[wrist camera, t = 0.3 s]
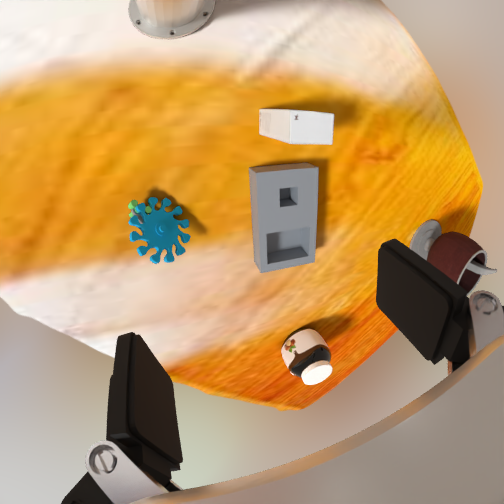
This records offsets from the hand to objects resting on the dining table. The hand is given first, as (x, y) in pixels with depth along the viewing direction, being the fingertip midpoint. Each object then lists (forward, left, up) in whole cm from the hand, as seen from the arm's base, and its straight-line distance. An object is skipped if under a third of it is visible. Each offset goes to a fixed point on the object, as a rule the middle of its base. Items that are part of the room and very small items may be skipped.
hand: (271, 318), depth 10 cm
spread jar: (+46, +18, -36) cm, 61 cm away
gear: (+9, -7, -36) cm, 37 cm away
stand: (+11, +13, -35) cm, 39 cm away
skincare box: (-4, +13, -36) cm, 38 cm away
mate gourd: (+24, +54, -36) cm, 69 cm away
